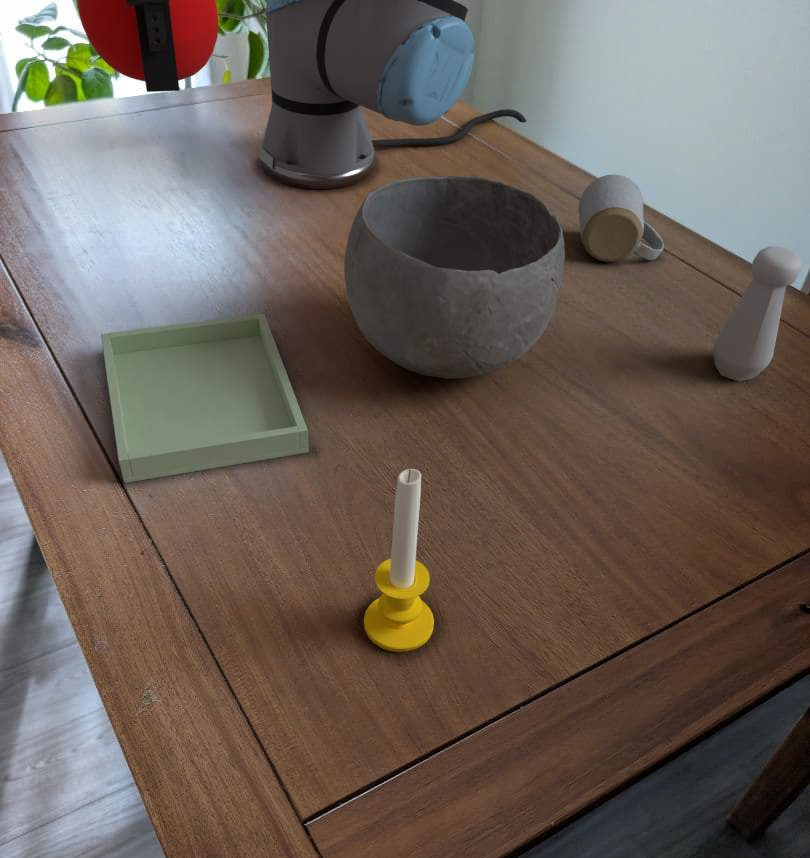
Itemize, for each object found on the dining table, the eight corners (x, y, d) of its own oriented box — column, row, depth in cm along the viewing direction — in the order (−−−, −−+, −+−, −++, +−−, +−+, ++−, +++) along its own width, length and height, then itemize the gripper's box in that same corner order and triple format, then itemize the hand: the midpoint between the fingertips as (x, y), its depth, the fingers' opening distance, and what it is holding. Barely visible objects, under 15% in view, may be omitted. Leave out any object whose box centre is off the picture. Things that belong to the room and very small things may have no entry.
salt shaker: (765, 361, 90) (815, 246, 81) (762, 392, 87) (814, 275, 77) (709, 348, 91) (751, 233, 82) (704, 378, 88) (748, 261, 78)
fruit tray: (266, 335, 89) (264, 313, 87) (308, 452, 77) (307, 430, 75) (106, 356, 85) (100, 333, 83) (124, 483, 73) (118, 460, 71)
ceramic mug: (575, 262, 102) (589, 200, 97) (572, 230, 108) (586, 169, 102) (663, 273, 102) (683, 211, 97) (656, 239, 108) (674, 179, 102)
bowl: (395, 437, 79) (404, 291, 68) (314, 321, 91) (311, 181, 80) (582, 388, 85) (618, 248, 74) (483, 286, 98) (501, 153, 87)
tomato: (239, 92, 76) (228, -47, 69) (105, 105, 72) (78, -42, 65) (202, 48, 83) (189, -82, 76) (79, 58, 80) (52, -78, 72)
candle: (362, 651, 62) (366, 497, 51) (364, 596, 66) (369, 439, 54) (434, 653, 62) (454, 500, 51) (432, 598, 66) (451, 443, 55)
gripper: (55, -281, 69) (106, 23, 84) (60, -250, 53) (121, 117, 68) (151, -275, 70) (183, 22, 86) (184, -243, 55) (216, 113, 70)
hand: (156, 64), depth 77 cm, fingers closed on tomato, 12 cm apart
